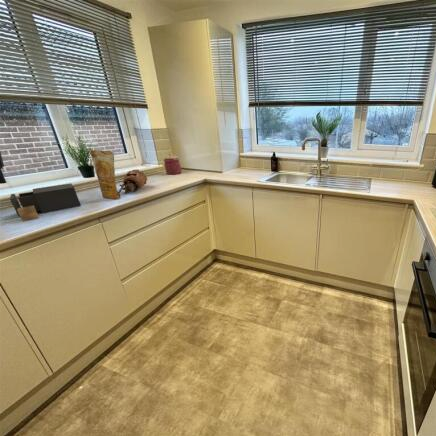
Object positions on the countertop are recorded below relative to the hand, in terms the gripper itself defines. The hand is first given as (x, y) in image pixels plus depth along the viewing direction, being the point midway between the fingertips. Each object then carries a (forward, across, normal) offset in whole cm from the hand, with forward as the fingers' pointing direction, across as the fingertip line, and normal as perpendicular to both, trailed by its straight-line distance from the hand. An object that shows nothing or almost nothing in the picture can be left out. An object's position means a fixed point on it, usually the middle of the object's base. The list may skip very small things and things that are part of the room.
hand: (2, 183), depth 113 cm
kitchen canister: (+18, +94, -53) cm, 109 cm away
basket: (+16, +6, -1) cm, 17 cm away
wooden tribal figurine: (+17, +40, -38) cm, 58 cm away
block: (+17, -4, -8) cm, 20 cm away
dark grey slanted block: (+17, +12, -12) cm, 24 cm away
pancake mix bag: (+17, +26, -32) cm, 44 cm away
